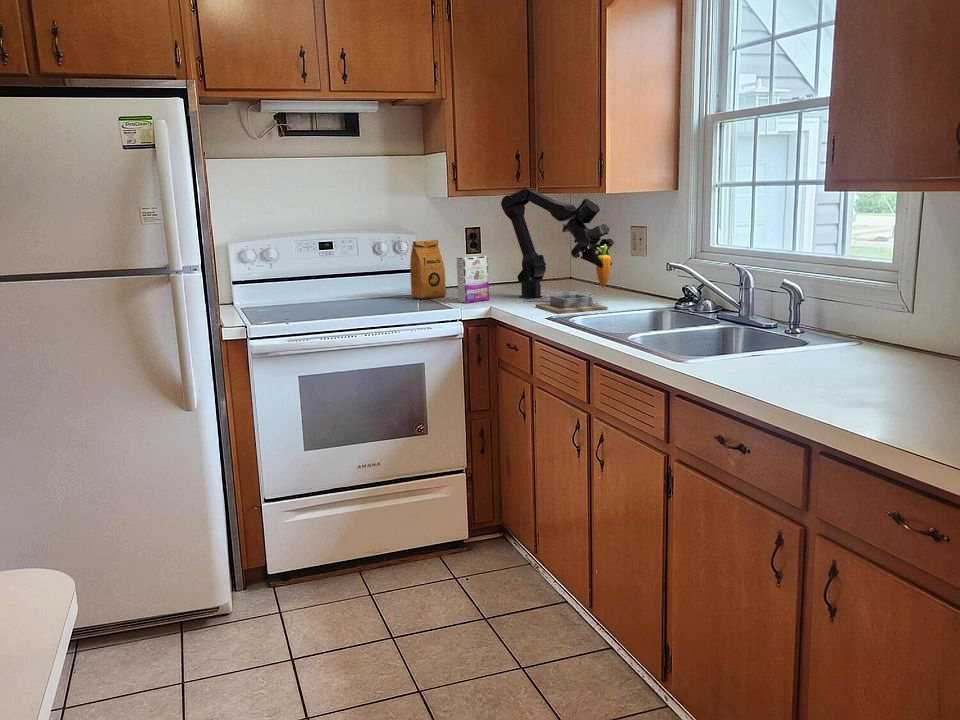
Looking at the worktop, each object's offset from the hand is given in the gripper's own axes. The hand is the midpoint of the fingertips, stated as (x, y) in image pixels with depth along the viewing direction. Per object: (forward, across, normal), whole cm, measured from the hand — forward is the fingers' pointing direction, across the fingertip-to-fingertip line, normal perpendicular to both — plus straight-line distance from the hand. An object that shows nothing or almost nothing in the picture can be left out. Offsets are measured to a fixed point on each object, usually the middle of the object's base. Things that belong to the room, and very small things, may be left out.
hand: (606, 266), depth 288 cm
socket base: (+6, -15, +12) cm, 20 cm away
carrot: (+5, 0, +6) cm, 8 cm away
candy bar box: (-22, -20, +42) cm, 51 cm away
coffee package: (-37, -22, +57) cm, 71 cm away
